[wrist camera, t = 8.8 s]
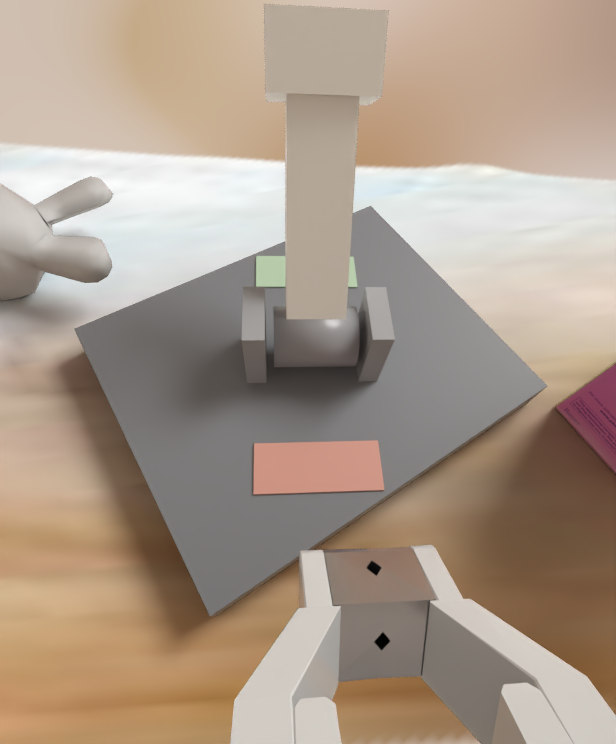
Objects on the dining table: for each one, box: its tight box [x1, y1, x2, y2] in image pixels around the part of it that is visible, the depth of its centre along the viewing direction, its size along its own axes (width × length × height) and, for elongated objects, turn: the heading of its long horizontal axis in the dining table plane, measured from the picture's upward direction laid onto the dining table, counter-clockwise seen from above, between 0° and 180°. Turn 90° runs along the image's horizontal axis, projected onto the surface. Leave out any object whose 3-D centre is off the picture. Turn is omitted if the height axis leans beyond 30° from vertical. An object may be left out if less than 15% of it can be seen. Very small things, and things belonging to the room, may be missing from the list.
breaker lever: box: [264, 4, 389, 367], centre depth 19 cm, size 3×4×14 cm
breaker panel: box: [75, 206, 547, 617], centre depth 23 cm, size 20×16×6 cm
